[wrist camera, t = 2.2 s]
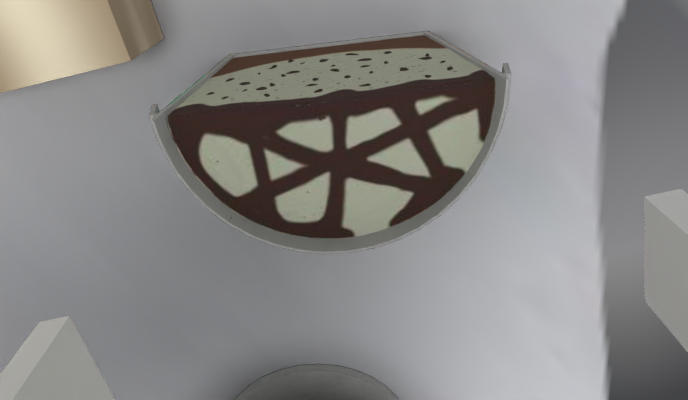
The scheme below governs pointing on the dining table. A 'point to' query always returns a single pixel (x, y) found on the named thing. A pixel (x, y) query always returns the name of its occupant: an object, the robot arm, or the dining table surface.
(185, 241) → the dining table surface
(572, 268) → the dining table surface
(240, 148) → the food container
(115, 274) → the dining table surface
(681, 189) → the robot arm
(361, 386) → the mate gourd
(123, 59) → the birch platform
